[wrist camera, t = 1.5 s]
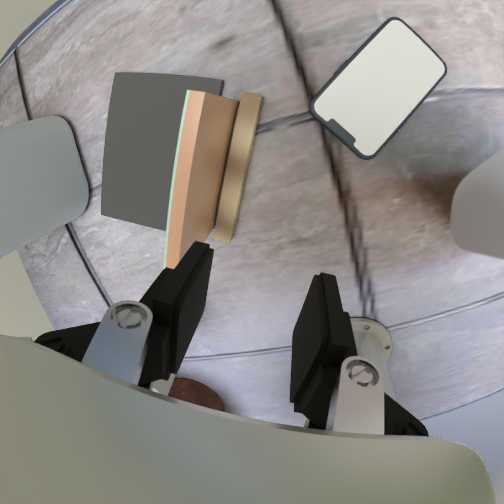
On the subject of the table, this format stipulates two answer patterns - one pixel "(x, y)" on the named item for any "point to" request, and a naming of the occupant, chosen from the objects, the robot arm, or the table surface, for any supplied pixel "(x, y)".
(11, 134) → the plastic bottle
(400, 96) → the phone case
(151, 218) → the rubber mat
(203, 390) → the case
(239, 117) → the tile stand
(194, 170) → the tile
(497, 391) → the table surface
